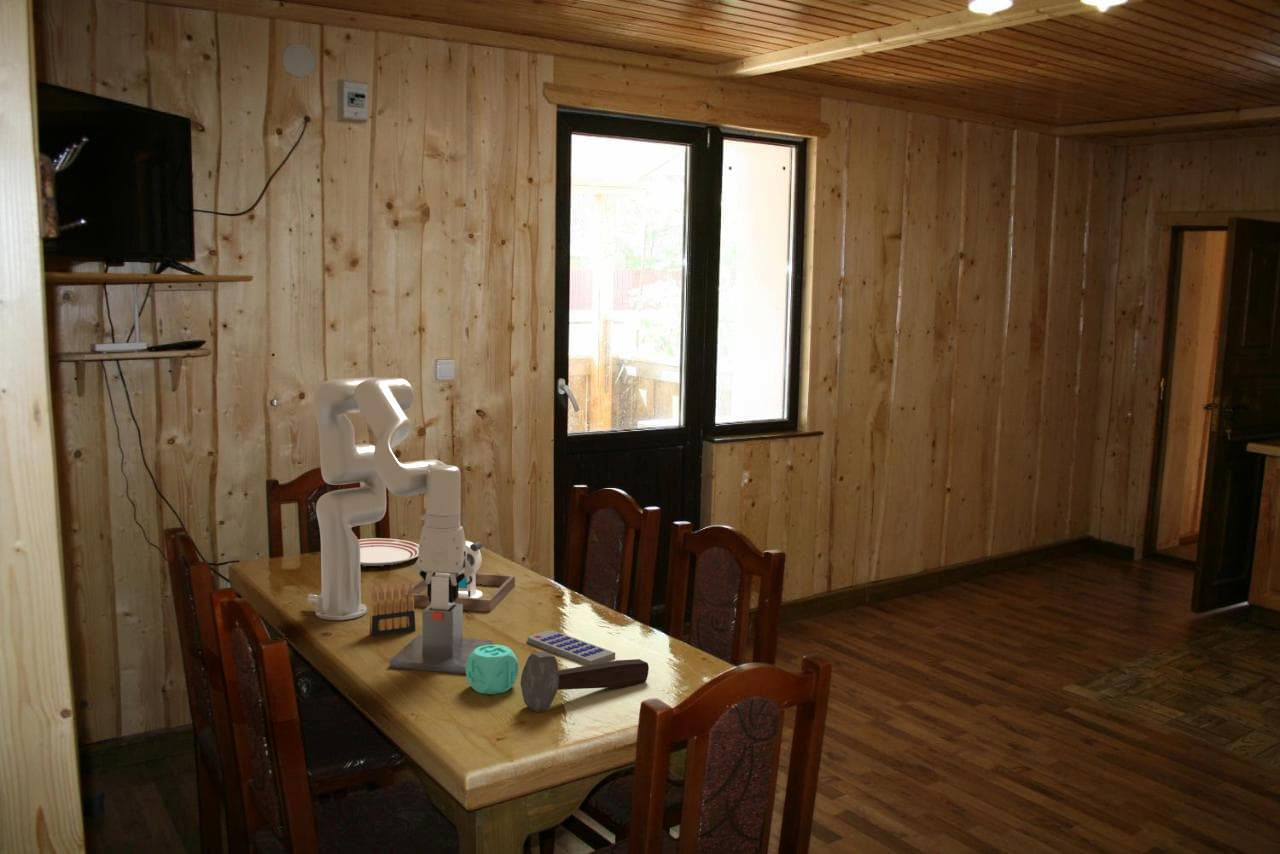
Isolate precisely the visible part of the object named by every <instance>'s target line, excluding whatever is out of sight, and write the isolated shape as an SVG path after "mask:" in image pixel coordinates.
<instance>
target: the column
mask: <svg viewBox="0 0 1280 854" xmlns="http://www.w3.org/2000/svg"><path fill="white" fill-rule="evenodd" d="M450 585H451V578H450V574H449V573H435V574H434V575H433V576H431V610H436V611H449V612H450V611H451V610H452V609H453V608H454V602H453V603H450V602H449V587H450Z"/></svg>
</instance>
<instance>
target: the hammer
mask: <svg viewBox="0 0 1280 854" xmlns="http://www.w3.org/2000/svg"><path fill="white" fill-rule="evenodd" d="M649 669H650V668H649V663H648V662H647V661H644V660H642V659H641V658H635V659H619V660H618V659H617V660H610V661H606V662H603V663H599V664H593V665H582V666H577V667H570V668H564V669H559V668H558V660H557V659H556V657H555V655H553V654H551V653H550V652H547V651H537V652H533V653H531V654H530V655H529V656H528V658H527V660H526V662H525V664H524V667H523V670H522V673H521V677H520V682H519V683H520V689H521V694H522V698H523V699H522V700H523V703H524V704H525V705H526V706H527V707H528V708H529V709H531V710H532V711H533V712H535V713H541V712H546V711H548V709H550V707H551V705H552V703H553V701H554V699H555V696H556V695H557V692H558V691H561V690H581V689H583V690H584V689H586V690H587V689H609V688H612V689H613V688H626V687H632V686H637V685H641V684H645V683H646V681H647V680H648V678H649V677H648V676H649Z"/></svg>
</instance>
